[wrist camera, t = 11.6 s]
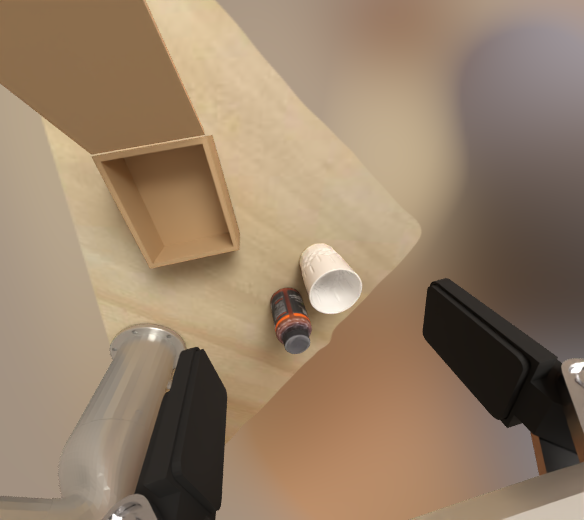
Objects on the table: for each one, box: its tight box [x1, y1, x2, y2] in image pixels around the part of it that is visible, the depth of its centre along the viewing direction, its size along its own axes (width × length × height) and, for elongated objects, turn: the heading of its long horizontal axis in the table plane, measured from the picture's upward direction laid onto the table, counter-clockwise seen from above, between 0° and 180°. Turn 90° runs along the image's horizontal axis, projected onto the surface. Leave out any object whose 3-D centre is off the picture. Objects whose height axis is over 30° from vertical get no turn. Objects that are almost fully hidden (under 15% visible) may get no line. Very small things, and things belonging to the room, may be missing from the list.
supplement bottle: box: [271, 288, 312, 354], centre depth 41 cm, size 6×6×11 cm
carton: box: [92, 135, 240, 269], centre depth 32 cm, size 14×12×6 cm
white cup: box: [299, 243, 362, 314], centre depth 39 cm, size 8×8×10 cm
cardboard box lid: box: [0, 0, 205, 154], centre depth 19 cm, size 14×12×1 cm
